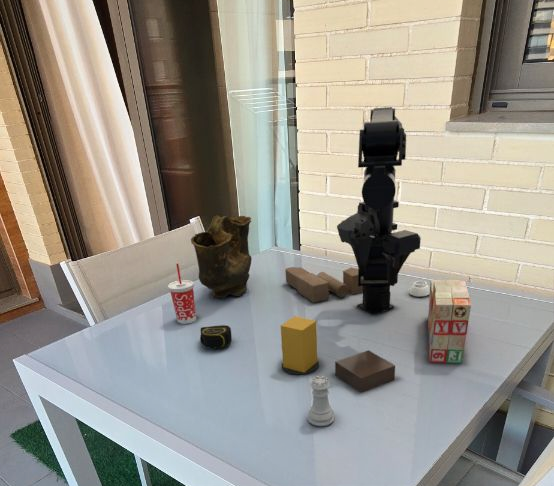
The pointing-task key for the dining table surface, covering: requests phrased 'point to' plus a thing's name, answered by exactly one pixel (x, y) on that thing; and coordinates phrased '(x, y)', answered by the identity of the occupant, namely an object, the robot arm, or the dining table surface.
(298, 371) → the rubber mat
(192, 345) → the dining table surface
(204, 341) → the tape measure
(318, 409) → the rook chess piece
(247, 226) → the pottery vessel
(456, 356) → the stack of blocks
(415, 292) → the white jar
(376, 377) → the walnut block
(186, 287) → the beverage cup
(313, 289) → the wooden block set
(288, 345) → the ochre block
